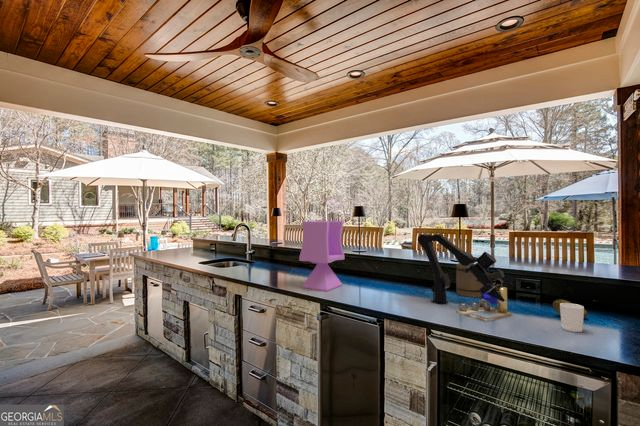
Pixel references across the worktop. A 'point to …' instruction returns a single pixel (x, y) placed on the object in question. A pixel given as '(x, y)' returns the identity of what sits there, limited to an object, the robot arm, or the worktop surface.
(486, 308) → the short steel spacers
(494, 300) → the cable clip
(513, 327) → the worktop surface
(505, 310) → the tall brass spacer
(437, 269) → the robot arm
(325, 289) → the purple pedestal chair
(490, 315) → the grey flat square plate
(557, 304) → the potato
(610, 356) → the worktop surface
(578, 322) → the white cup
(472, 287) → the wooden container
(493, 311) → the board
